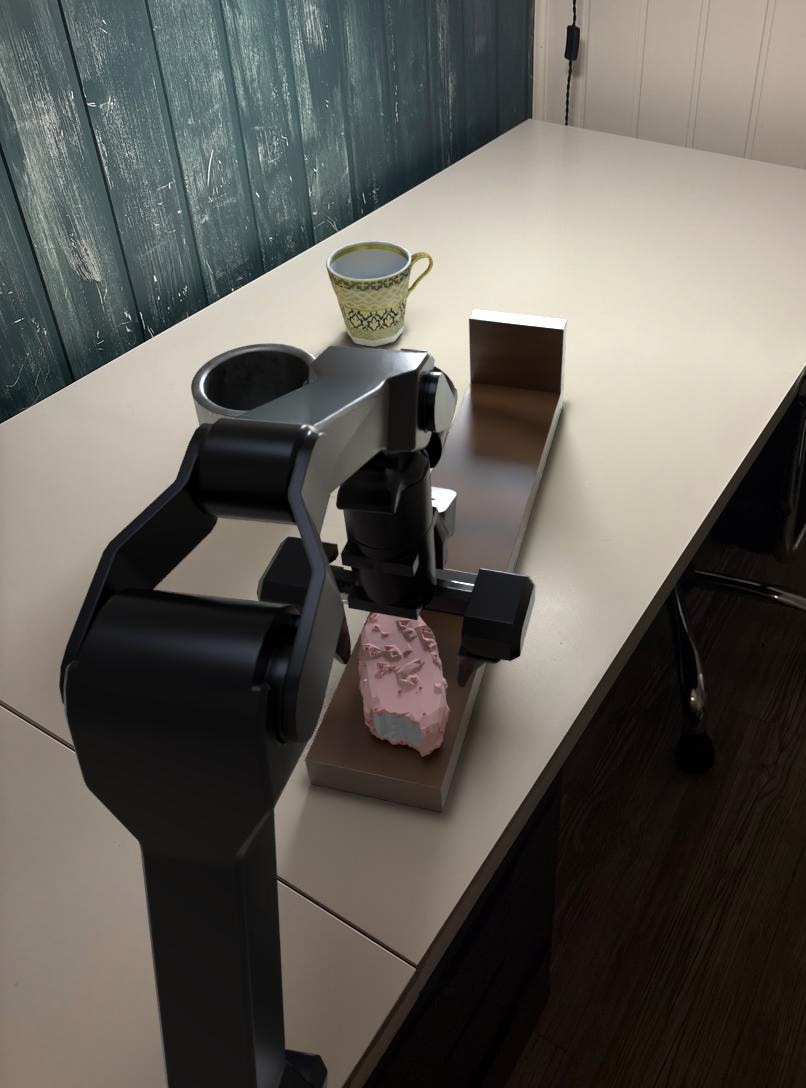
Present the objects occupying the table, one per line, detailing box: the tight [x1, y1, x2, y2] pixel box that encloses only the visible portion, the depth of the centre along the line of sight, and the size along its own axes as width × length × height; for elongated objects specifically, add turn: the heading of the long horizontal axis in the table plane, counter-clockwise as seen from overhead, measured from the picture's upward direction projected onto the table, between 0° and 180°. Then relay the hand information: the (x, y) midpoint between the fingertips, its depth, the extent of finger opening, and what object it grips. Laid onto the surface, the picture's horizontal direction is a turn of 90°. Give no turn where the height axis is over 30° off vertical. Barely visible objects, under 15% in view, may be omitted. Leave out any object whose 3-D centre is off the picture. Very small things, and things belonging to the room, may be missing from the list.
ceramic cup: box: [325, 240, 434, 348], centre depth 115 cm, size 13×10×10 cm
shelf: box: [304, 309, 568, 813], centre depth 83 cm, size 50×10×11 cm, turn 166°
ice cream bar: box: [358, 613, 450, 757], centre depth 71 cm, size 6×4×15 cm
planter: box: [190, 342, 317, 427], centre depth 94 cm, size 13×13×11 cm
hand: (404, 670), depth 71 cm, fingers open, 9 cm apart
